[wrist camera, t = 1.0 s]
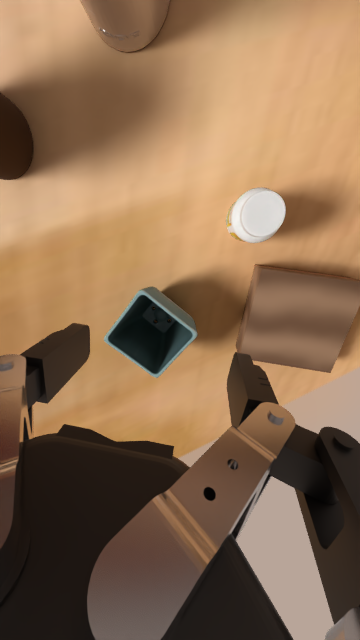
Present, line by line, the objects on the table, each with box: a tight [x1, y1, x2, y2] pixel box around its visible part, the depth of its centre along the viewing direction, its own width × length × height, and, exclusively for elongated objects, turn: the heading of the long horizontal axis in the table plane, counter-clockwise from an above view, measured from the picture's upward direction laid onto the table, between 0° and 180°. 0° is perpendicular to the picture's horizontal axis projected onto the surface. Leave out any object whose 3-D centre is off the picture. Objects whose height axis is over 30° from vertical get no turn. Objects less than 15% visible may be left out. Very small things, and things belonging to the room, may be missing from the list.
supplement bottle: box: [226, 188, 286, 243], centre depth 25 cm, size 5×5×10 cm
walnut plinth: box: [236, 265, 360, 373], centre depth 32 cm, size 13×13×4 cm
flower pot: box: [104, 287, 198, 378], centre depth 32 cm, size 9×9×9 cm
